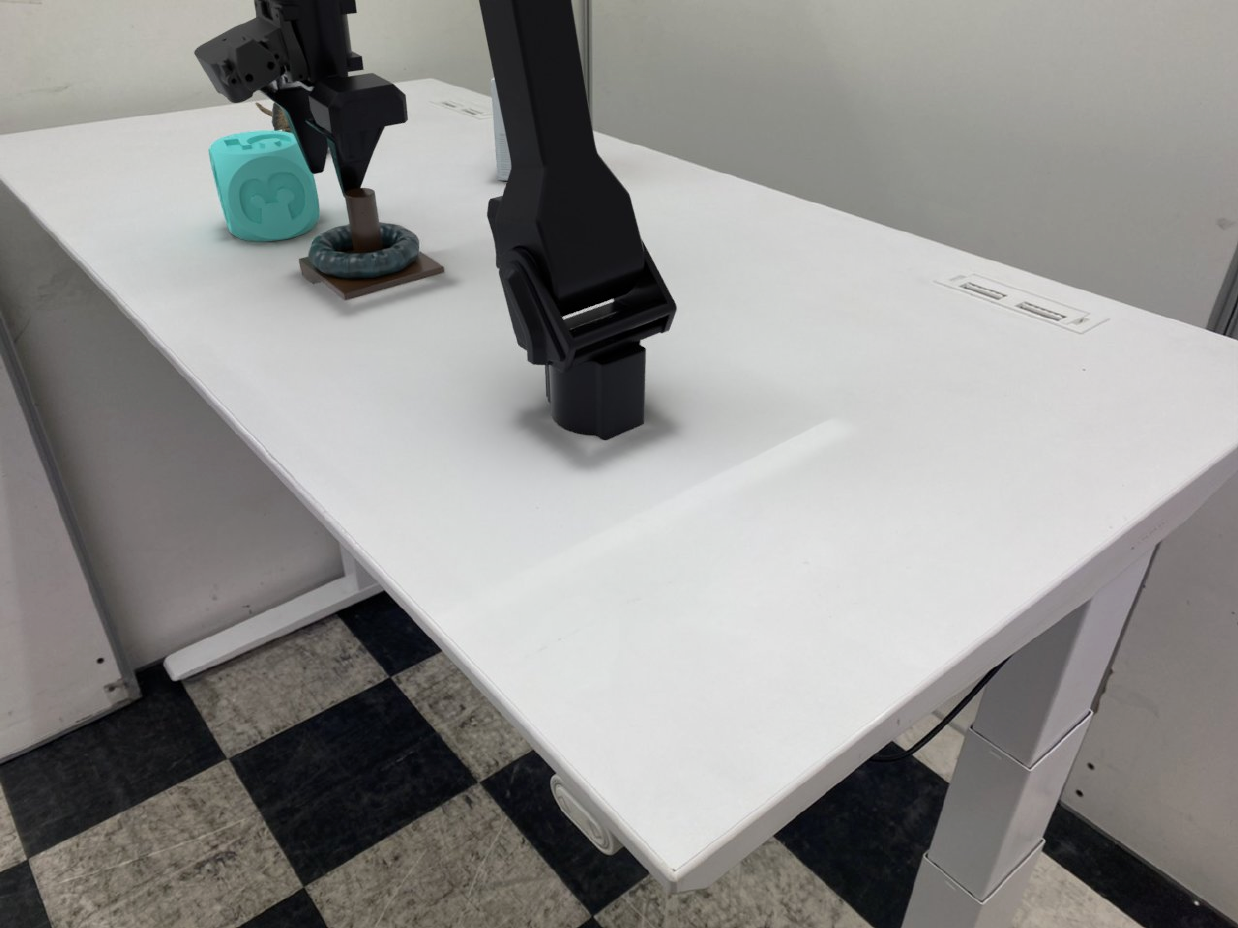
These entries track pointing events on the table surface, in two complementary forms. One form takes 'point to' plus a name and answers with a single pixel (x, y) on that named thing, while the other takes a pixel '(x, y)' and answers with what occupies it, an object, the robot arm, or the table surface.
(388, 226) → the ring
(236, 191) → the decorative dice
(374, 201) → the stand
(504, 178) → the small box
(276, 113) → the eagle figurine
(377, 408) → the table surface
